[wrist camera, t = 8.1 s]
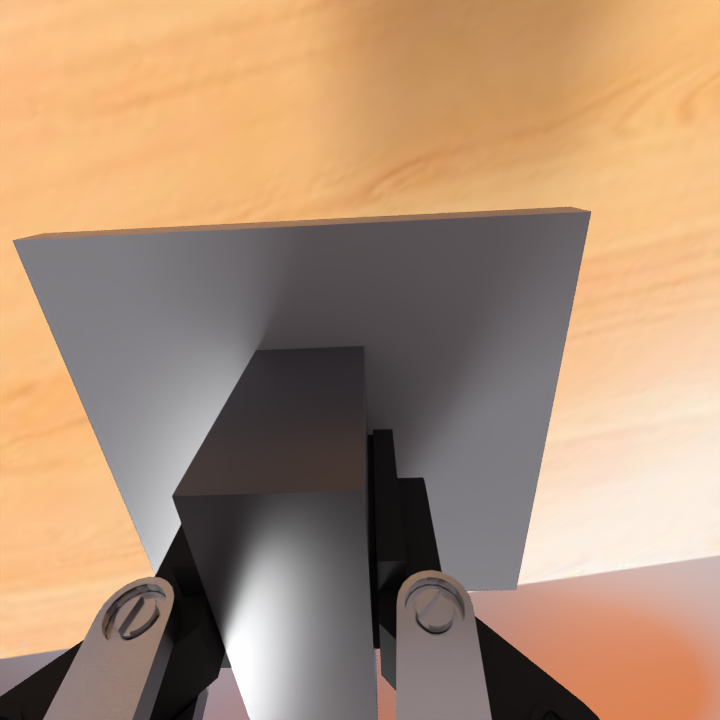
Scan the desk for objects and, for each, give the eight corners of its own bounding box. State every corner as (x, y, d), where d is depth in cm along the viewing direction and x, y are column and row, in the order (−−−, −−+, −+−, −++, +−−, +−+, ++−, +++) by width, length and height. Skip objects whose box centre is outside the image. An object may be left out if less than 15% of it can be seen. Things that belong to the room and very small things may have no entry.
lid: (44, 233, 10) (-331, 317, 5) (570, 206, 10) (832, 264, 4) (176, 572, 16) (78, 785, 10) (507, 564, 15) (584, 781, 10)
